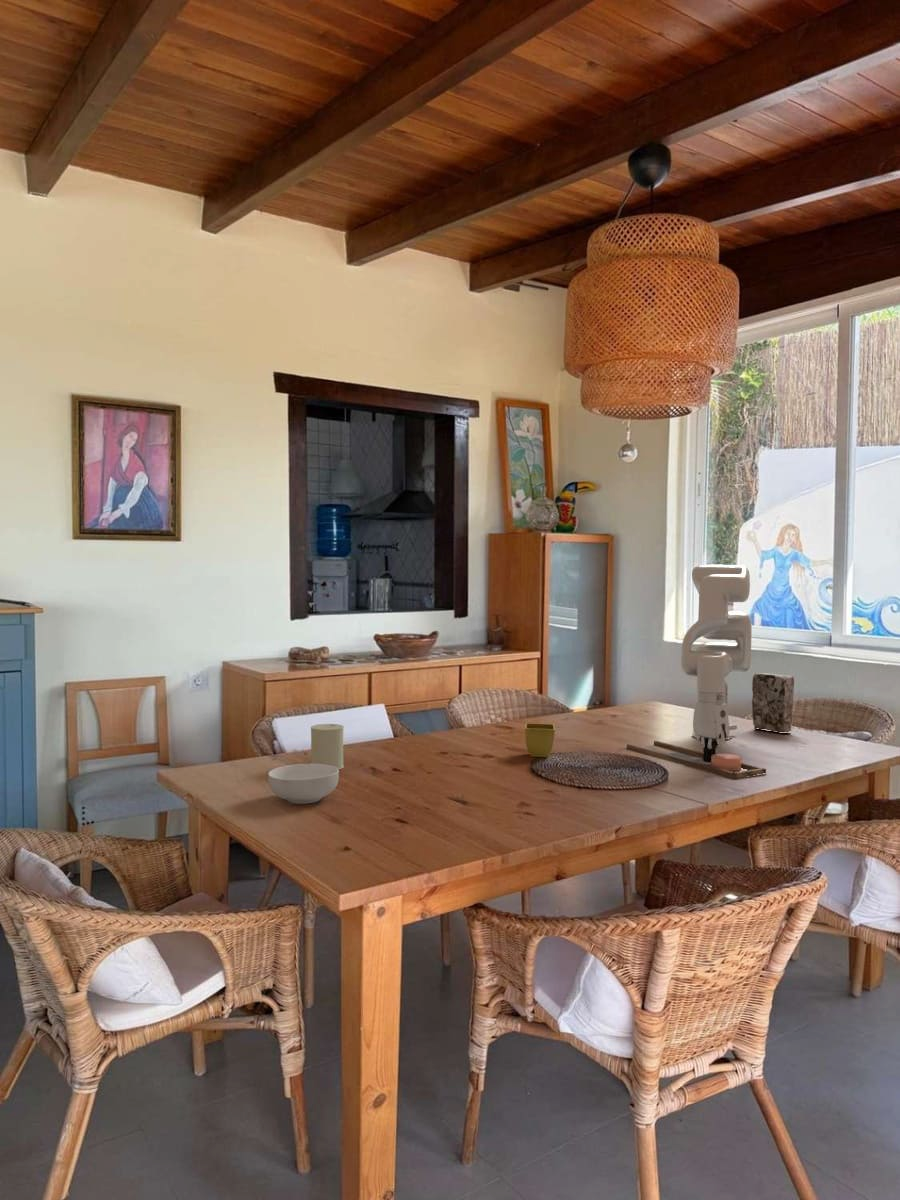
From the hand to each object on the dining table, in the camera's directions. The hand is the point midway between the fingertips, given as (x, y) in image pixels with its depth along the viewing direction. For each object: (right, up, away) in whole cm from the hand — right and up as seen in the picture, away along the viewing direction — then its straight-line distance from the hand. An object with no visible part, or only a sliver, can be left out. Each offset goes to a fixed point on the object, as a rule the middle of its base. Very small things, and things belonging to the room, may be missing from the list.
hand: (709, 761), depth 253 cm
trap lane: (-3, -1, +6) cm, 7 cm away
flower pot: (-47, -1, +12) cm, 49 cm away
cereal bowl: (-109, -2, -39) cm, 116 cm away
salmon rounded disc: (+3, -1, -5) cm, 6 cm away
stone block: (+37, 0, +53) cm, 65 cm away
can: (-108, -1, -6) cm, 109 cm away
